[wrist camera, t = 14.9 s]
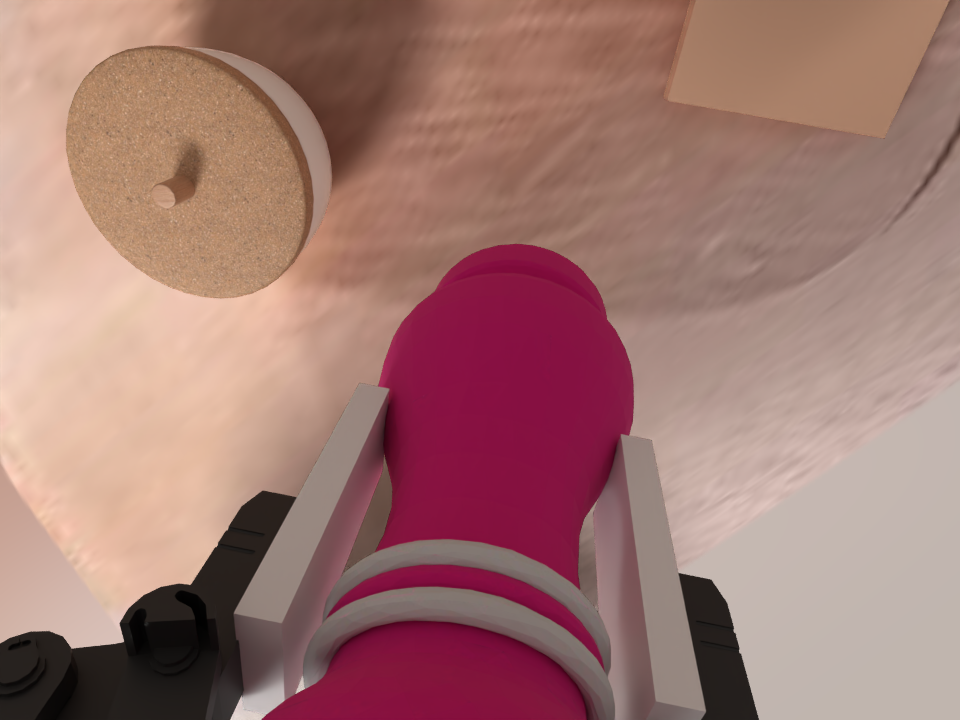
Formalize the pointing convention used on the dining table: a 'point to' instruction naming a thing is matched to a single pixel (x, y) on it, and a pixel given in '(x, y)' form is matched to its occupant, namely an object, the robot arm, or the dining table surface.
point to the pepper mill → (483, 508)
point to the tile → (803, 59)
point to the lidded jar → (198, 167)
